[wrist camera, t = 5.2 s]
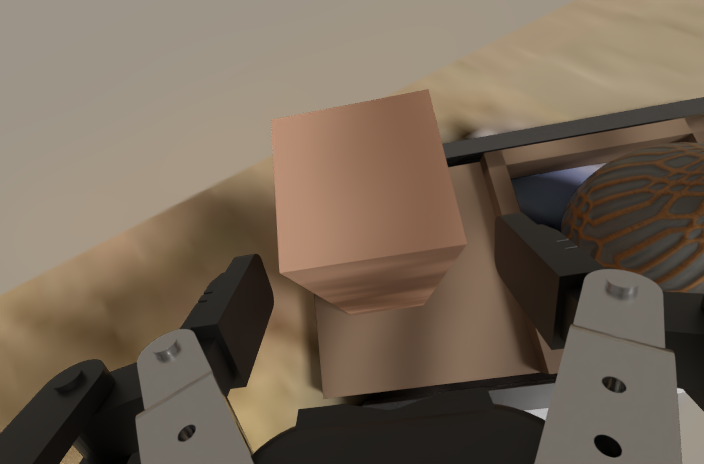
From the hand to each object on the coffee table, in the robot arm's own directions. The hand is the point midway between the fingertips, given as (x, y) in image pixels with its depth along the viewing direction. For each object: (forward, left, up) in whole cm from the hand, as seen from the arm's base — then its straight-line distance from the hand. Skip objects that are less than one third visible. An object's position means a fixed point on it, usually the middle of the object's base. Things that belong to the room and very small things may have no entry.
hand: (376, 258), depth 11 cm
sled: (+7, +1, -9) cm, 12 cm away
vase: (+13, +1, -9) cm, 16 cm away
